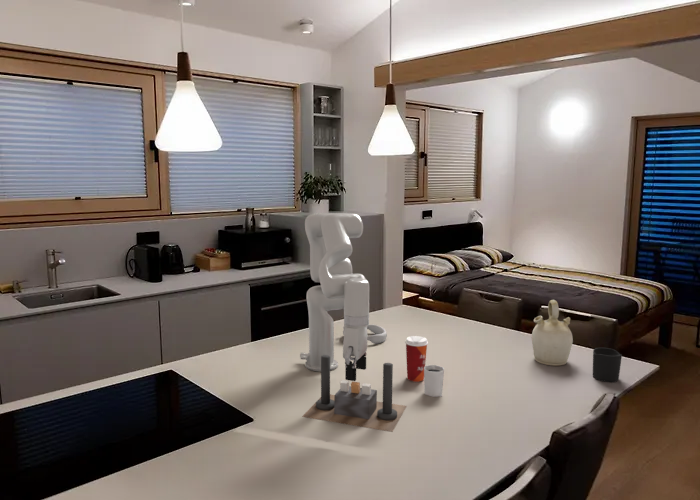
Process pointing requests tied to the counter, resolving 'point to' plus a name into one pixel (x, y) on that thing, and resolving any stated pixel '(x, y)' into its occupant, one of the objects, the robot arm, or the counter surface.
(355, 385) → the paddle middle
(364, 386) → the paddle right
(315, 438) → the counter surface
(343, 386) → the paddle left
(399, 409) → the breaker panel
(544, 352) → the jug
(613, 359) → the pen holder
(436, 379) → the white cup
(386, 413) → the cord post right
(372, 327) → the headphones
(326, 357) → the cord post left
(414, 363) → the coffee cup
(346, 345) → the robot arm
